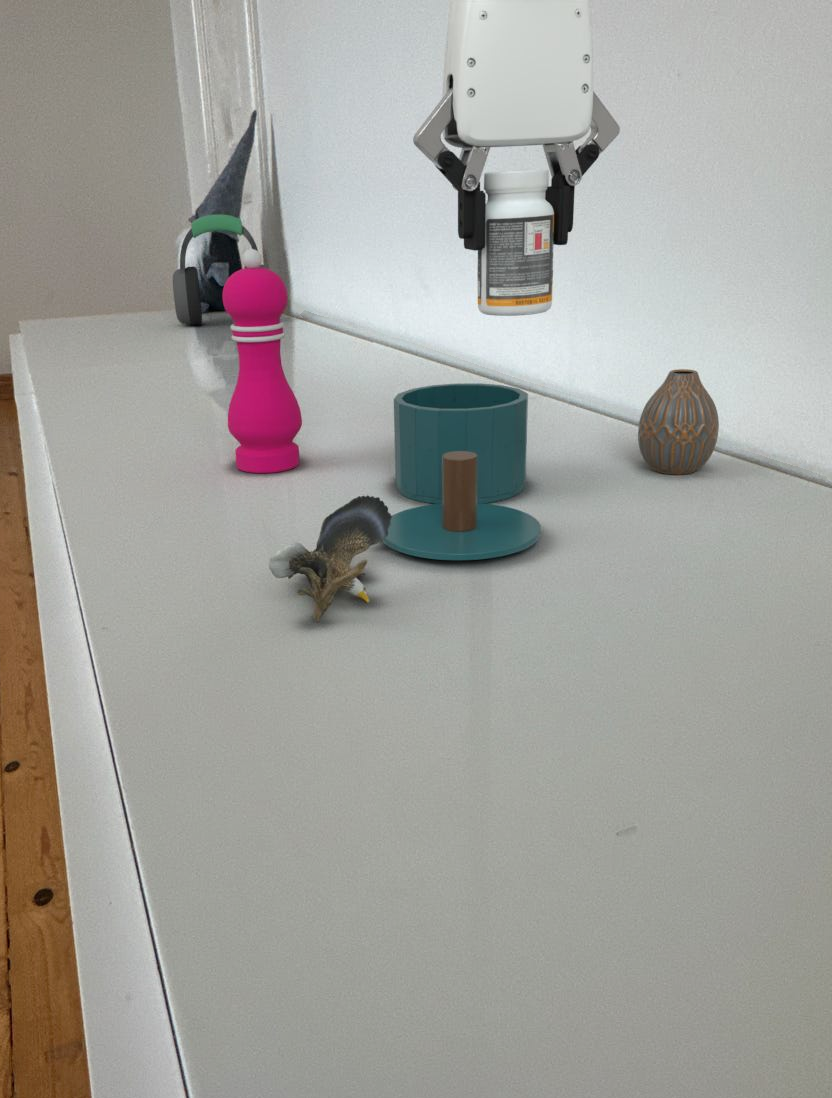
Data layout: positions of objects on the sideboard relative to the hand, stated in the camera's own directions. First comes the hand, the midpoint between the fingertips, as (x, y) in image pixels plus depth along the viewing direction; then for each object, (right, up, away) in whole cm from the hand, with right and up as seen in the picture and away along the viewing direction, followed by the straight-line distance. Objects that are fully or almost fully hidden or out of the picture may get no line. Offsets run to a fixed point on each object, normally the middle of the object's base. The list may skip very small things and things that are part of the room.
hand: (515, 244), depth 75 cm
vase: (+17, -14, +17) cm, 28 cm away
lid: (-4, -22, +1) cm, 22 cm away
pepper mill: (-21, -13, +24) cm, 34 cm away
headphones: (-38, +33, +125) cm, 134 cm away
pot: (-3, -16, +15) cm, 22 cm away
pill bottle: (0, -5, +2) cm, 5 cm away
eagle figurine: (-13, -27, -8) cm, 31 cm away
